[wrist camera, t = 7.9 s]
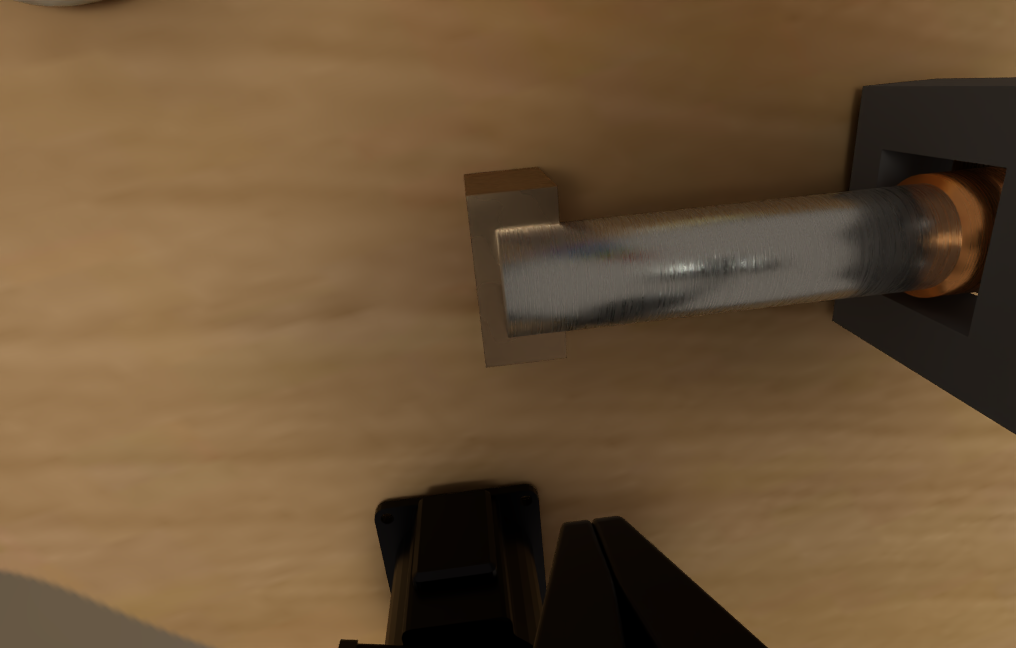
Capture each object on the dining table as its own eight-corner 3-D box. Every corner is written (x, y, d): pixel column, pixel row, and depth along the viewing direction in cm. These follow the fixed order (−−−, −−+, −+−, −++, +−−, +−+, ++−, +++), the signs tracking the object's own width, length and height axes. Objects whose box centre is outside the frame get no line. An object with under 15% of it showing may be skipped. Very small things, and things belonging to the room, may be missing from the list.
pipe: (480, 317, 21) (489, 396, 16) (463, 174, 19) (467, 209, 14) (976, 260, 22) (1146, 317, 16) (1008, 117, 20) (1211, 129, 14)
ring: (832, 320, 22) (1049, 455, 14) (863, 86, 18) (1164, 86, 11) (895, 313, 22) (1146, 442, 14) (936, 78, 19) (1289, 73, 11)
